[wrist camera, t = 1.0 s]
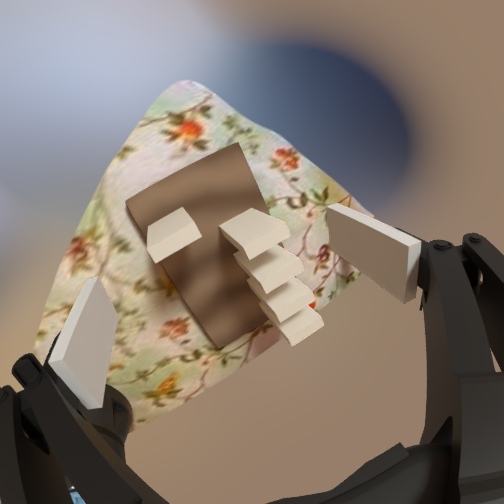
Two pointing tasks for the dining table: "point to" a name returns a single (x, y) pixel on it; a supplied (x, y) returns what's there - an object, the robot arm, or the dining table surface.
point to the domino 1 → (171, 234)
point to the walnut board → (208, 240)
